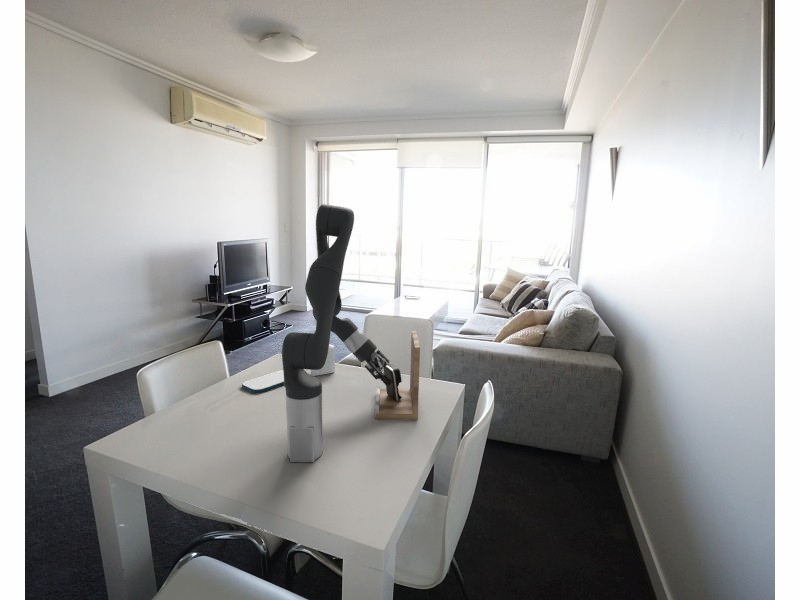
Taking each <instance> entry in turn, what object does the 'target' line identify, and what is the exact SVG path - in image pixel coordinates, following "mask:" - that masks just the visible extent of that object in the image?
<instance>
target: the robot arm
mask: <svg viewBox="0 0 800 600" xmlns="http://www.w3.org/2000/svg"><path fill="white" fill-rule="evenodd" d="M315 216H316V217H315V235H316V236H315V237H316V249H317V250H316V251H317V258H316V259H315V260H314V261H313V262H312V264H311V265H310V266H309V270H308V274H307V276H306V282H305V286H304V287H305V294H306V297H307V299H308V302H309V304H310V306H311V308H312V315H313V318H314V319H315V321H316V326H315V331H314V333H313V332H312V333H311V332H310V333H309V332H299V331H298V332H297V331H293V332H292V331H291V332H289V333H287V334H286V335H285V337H284V339H283V342H282V346H281V347H282V348H281V349H282V350H281V359H282V369H283V373H284V388H285V404H286V405H285V407H286V409H285V410H286V411H285V412H286V413H285V414H286V439H287V440H286V442H287V444H286V445H287V446H286V447H287V457H288V458H289V462H290V463H314V462H315V460H317V459H318V458H320V457H321V456H322V454H323V452H324V451H323V450H324V449H323V447H324V446H323V438H324V437H323V384H322V381H321V380H320V379H319V378H317V376H312V375H311V373H308V372H307V371H306V370H310V371H311V370H320V369H322V368H323V366H324V364H325V362H326V359H327V355H328V348H329V344H330V340H331V333H333V334H334V335H336V336H337V337H338V339H339V340H340V341H341V342H342V343H343V344H344V345H345V348H347V349H348V351H350V352H351V354H352V355H353V356H354V357H355V358H356V359H357V360H358V361H359V363H364V362H366V364H365V365H364V368H365V369H366V370H367V372H369V374H370V375H371V376H372V377H373V378H374V379H375V380H380V381H381V382H382V383H383V384H384V385H385V387H386V386H389V385H390V384H391V383H392V381H391V380H390V379H389V378H388V377H387V376H386V375H385V374H384V366H386V365H390V364H391V363H390V362H391V361H390V360H389V359H388V358H387V357H386V355H384V353H382V352H381V350H379V349H378V350H377V346H376V344H375V343H374V342H373V341H372V340H371V339H370V338H369V337H368V335H366V334H365V333H364V332H363V331H362V330H361V329H360V328H359V327H358V326H357V325H356V324H355V323H354V322H353V320H351V319H350V318H348V317H345V318H339V317H338V315H339V314H340V312H341V311H342V299H341V292H340V286H341V281H342V276H343V270H344V263H345V259H346V254H347V251H348V246H349V243H350V240H351V239H350V238H351V235H352V232H353V229H354V223H355V212H354V210H353V209H352V208H349V207H344V206H341V205H340V206H338V205H332V204H324V203H322V204H320V205H319V207H318V208H317V211H316V215H315ZM329 236H330V237H335V238H336V239H335V241H334V242H333V243H332V245H331V246H330V245H329V241H328V237H329Z"/></svg>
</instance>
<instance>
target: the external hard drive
mask: <svg viewBox="0 0 800 600" xmlns="http://www.w3.org/2000/svg"><path fill="white" fill-rule="evenodd" d="M280 387H285V385H284V373H283V368H282V369H280V370H276V371H273V372H270V373H267V374H264V375H260V376H257V377H254V378H251V379H248V380H245V381H243V382H242V383H241V388H242V389H243V390H244V389H245V391H246V390H247V392H248V393H250V394H253V395H254V394H263V393H267V392H269V391H270V392H271V391H272V390H275V389H278V388H280Z"/></svg>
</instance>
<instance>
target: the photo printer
mask: <svg viewBox="0 0 800 600" xmlns="http://www.w3.org/2000/svg"><path fill="white" fill-rule="evenodd" d="M335 358H336V350H335V345H333V344H330V343H329V348H328V355H327V359H326V362H325V364H324V366H323V368H322V369H320V370H310V375H312V376H314V377H317V376H321V375H322V376H323V375H328V374H333V373H335V370H336V366H335V363H336V362H335V361H336V359H335Z"/></svg>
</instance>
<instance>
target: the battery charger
mask: <svg viewBox="0 0 800 600" xmlns="http://www.w3.org/2000/svg"><path fill="white" fill-rule="evenodd" d="M389 364H390V365H386V366H384V369H383V372H384V374H385V375H386V376H387V377H388V378H389V379H390V380H391V381H392V383H391V384H390V385H389V386H386V385H385V387H386V388H385V389H386V390H387V395H389V396H390V397H391V398H392V399H393V400H394V401H398V400H400V399H401V398H402V396H401V395H400V394H399V392H398V389H399V386H400V384H401V383H402V374H401V370H400V369H399V367H397V366H396V365H394V364H391V363H389Z"/></svg>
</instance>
